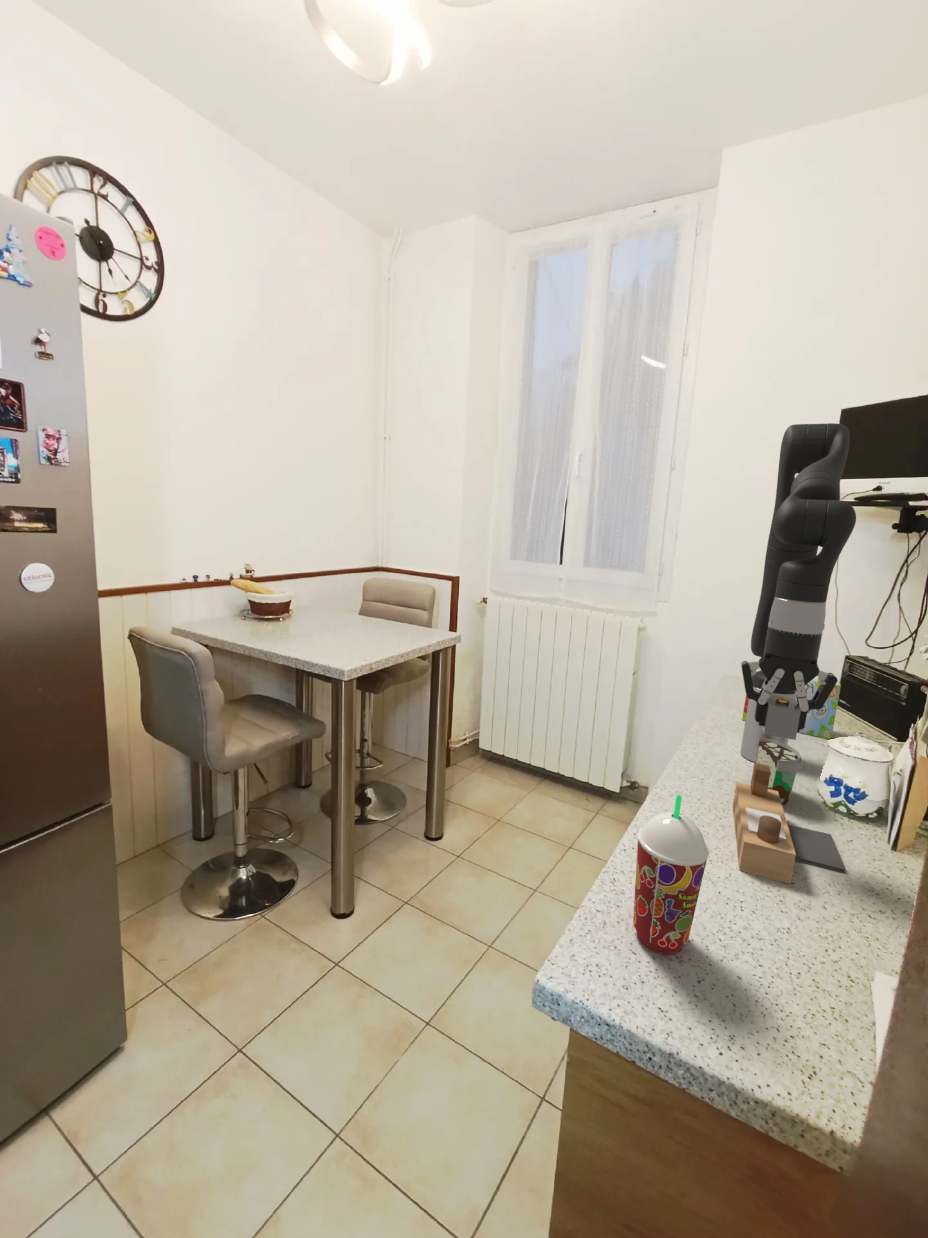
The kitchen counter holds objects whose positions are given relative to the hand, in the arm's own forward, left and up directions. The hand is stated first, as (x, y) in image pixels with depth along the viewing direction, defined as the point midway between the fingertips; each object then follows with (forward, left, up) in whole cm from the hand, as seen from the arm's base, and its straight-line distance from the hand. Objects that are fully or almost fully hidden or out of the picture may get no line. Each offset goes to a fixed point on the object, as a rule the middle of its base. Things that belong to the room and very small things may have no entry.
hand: (777, 727), depth 90 cm
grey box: (0, 0, -1) cm, 1 cm away
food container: (-20, +5, -21) cm, 29 cm away
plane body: (0, 0, -21) cm, 21 cm away
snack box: (-67, +12, -21) cm, 71 cm away
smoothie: (+32, -14, -21) cm, 41 cm away
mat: (-2, +8, -21) cm, 23 cm away
